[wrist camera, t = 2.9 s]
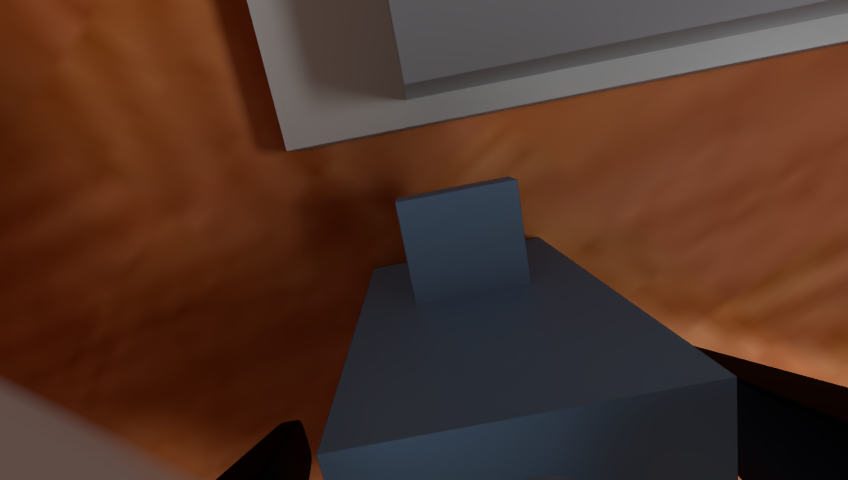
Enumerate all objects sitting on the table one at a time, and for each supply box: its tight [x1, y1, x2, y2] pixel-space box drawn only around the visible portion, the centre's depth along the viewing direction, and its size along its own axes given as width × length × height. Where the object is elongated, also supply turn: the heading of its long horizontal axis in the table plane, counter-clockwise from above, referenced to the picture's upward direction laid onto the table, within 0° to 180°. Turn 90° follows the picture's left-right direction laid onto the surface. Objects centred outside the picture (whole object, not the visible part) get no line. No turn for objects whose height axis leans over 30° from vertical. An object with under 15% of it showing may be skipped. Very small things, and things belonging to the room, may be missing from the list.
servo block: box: [317, 177, 738, 480], centre depth 7 cm, size 10×4×7 cm, turn 11°
